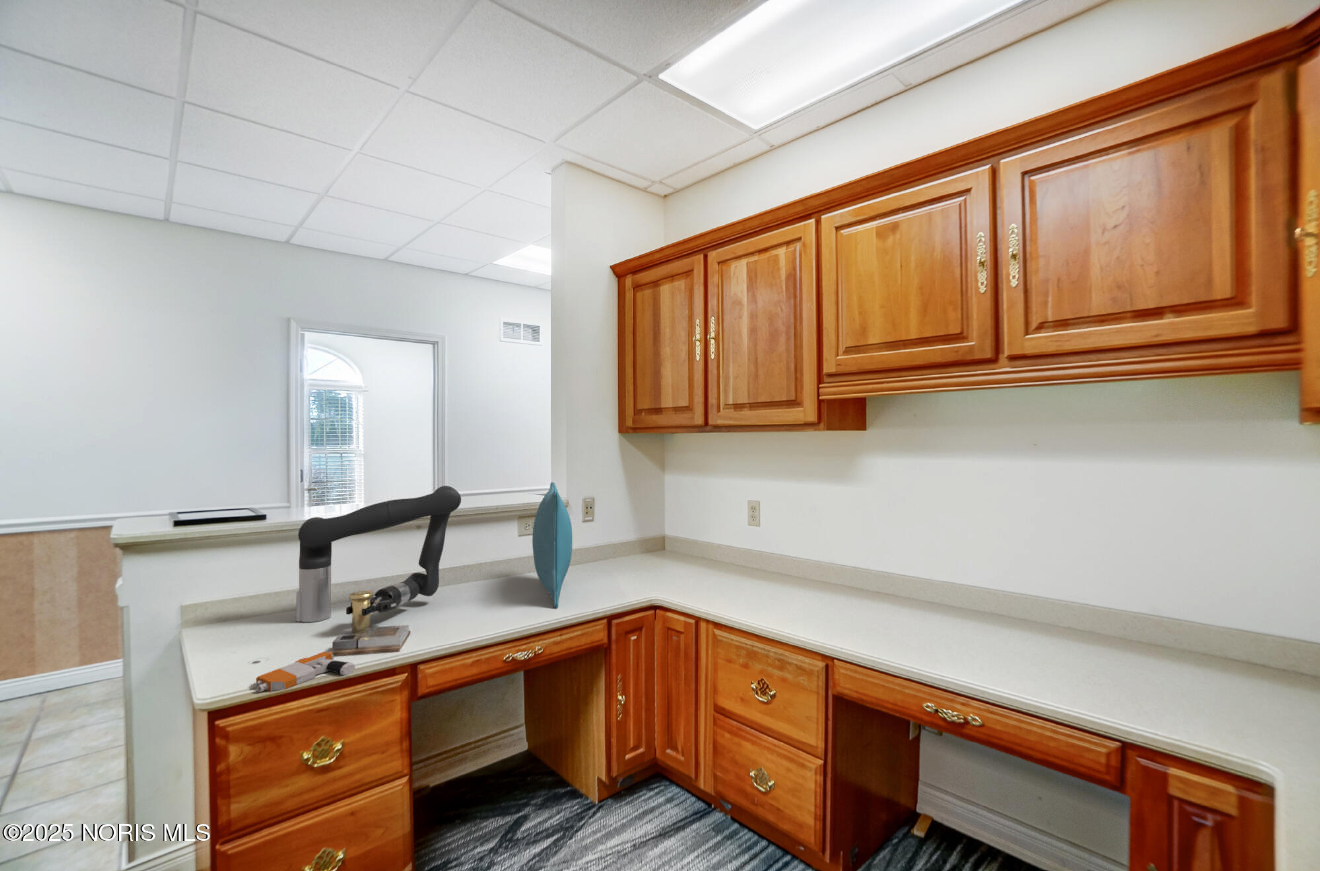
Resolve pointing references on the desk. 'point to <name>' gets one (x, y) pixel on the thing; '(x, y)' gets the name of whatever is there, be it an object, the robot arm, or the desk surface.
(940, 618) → the desk surface
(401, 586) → the robot arm
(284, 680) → the toy gun
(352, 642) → the grey square ring
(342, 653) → the walnut board
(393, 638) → the wide steel port
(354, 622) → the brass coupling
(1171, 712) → the desk surface
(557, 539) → the pillow
